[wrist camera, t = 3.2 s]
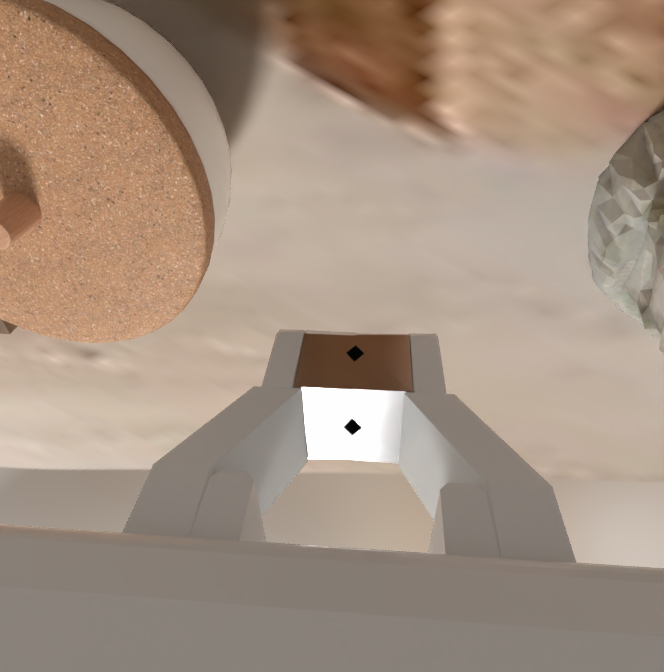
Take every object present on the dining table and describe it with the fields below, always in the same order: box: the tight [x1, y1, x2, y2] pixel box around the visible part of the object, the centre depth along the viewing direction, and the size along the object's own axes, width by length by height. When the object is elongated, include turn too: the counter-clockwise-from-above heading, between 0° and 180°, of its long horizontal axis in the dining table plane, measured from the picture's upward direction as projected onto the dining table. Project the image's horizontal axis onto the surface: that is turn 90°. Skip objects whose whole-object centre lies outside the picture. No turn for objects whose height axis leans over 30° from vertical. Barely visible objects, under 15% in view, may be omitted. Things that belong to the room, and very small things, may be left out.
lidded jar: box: [0, 0, 232, 343], centre depth 17 cm, size 11×11×9 cm
